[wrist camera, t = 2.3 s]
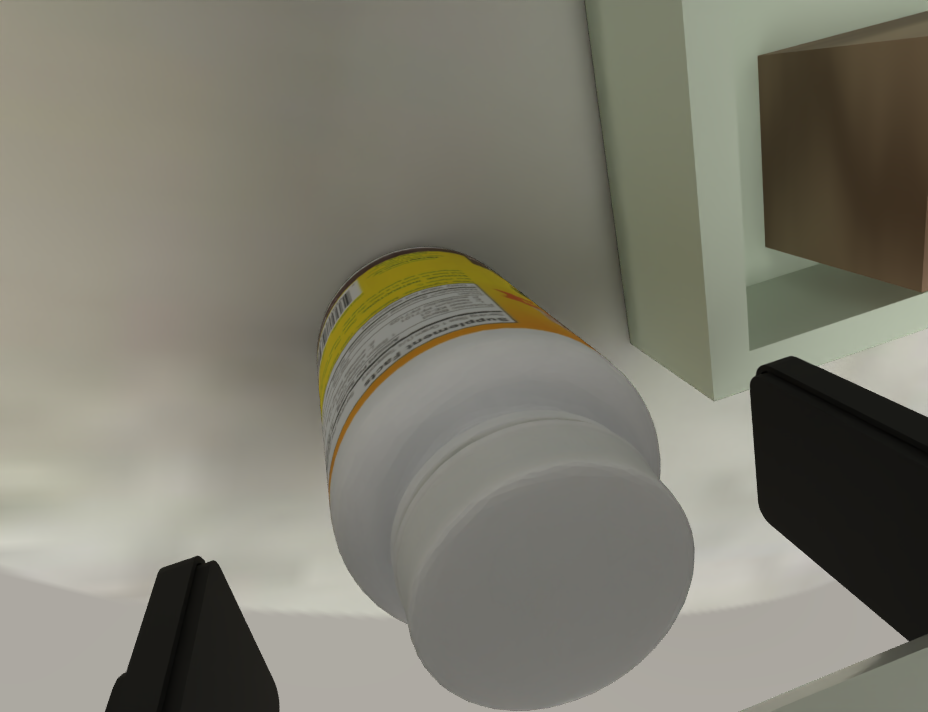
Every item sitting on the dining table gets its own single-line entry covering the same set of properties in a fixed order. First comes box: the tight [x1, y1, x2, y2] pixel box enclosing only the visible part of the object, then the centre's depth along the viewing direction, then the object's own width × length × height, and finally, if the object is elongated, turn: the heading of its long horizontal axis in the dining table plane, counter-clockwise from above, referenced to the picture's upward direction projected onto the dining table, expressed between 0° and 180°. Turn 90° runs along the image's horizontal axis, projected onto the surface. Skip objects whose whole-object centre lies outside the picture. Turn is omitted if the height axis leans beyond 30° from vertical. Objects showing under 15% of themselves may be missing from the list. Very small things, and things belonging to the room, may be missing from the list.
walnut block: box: [758, 11, 928, 293], centre depth 15 cm, size 5×5×5 cm
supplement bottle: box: [317, 247, 695, 711], centre depth 13 cm, size 6×6×10 cm
